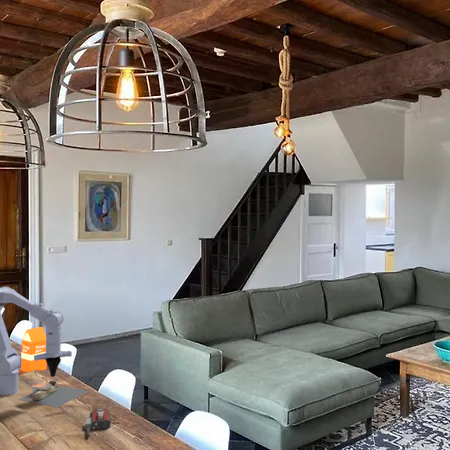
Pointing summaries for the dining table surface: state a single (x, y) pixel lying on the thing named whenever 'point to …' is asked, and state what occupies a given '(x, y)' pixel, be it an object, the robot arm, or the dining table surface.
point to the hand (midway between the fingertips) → (52, 376)
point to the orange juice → (33, 349)
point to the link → (45, 391)
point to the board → (57, 396)
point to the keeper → (40, 387)
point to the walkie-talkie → (98, 420)
